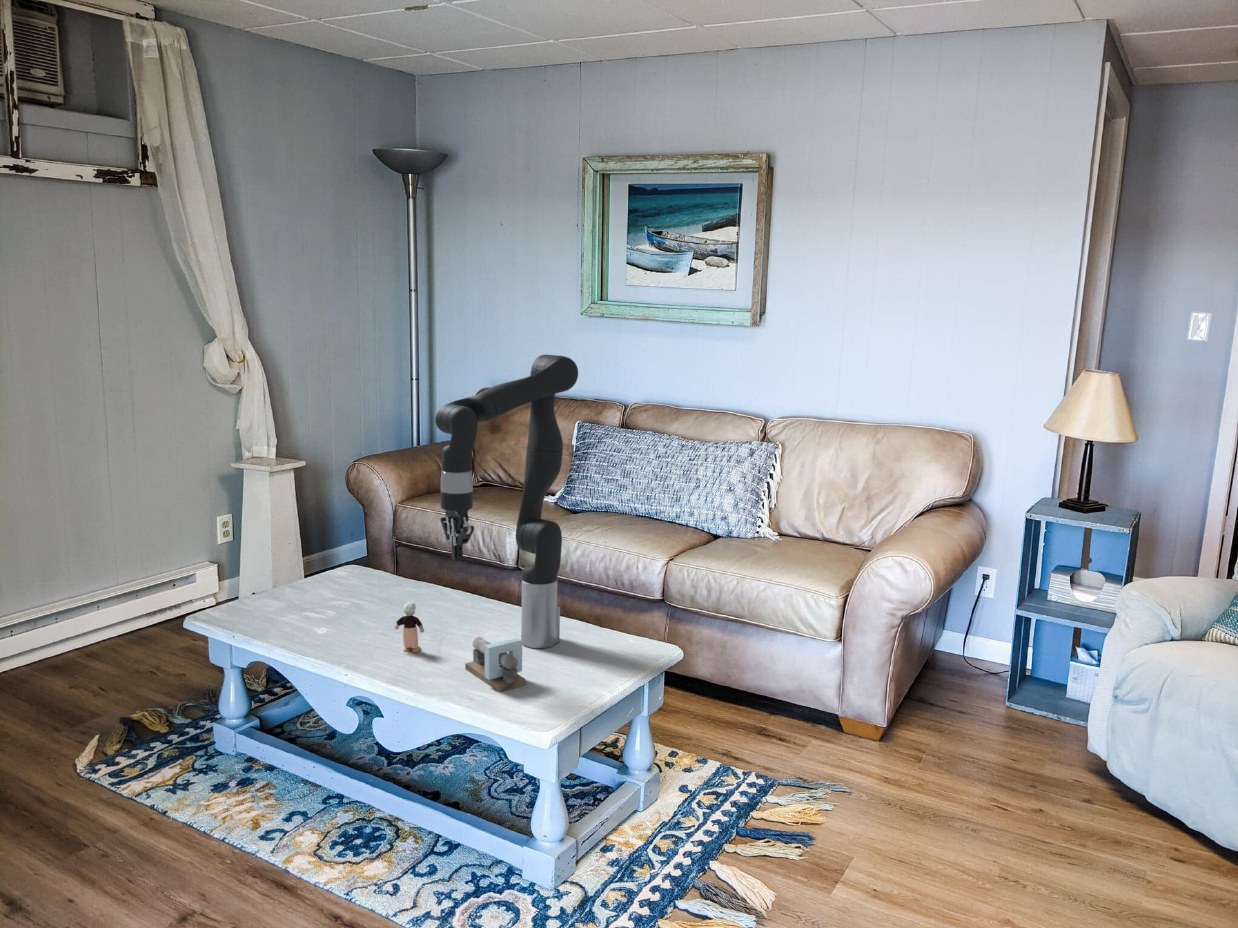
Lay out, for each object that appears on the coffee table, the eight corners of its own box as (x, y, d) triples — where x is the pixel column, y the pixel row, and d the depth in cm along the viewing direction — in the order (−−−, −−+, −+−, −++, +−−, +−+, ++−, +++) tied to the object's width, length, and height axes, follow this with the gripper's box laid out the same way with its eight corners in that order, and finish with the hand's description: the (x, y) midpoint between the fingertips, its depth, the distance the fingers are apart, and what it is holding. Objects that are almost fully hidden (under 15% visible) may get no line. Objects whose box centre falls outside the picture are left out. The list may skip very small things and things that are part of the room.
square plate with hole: (517, 668, 225) (517, 637, 224) (522, 671, 224) (522, 639, 222) (484, 676, 220) (484, 645, 219) (488, 679, 218) (489, 647, 217)
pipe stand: (490, 662, 234) (490, 633, 232) (525, 684, 221) (525, 654, 220) (464, 668, 230) (464, 639, 228) (499, 691, 217) (499, 660, 216)
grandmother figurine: (426, 647, 243) (425, 599, 241) (423, 652, 239) (423, 604, 237) (396, 646, 243) (395, 599, 240) (393, 652, 239) (392, 604, 237)
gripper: (484, 492, 221) (484, 563, 224) (457, 482, 231) (457, 551, 234) (456, 495, 216) (456, 568, 219) (429, 485, 226) (430, 555, 229)
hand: (457, 559), depth 227 cm, fingers closed
